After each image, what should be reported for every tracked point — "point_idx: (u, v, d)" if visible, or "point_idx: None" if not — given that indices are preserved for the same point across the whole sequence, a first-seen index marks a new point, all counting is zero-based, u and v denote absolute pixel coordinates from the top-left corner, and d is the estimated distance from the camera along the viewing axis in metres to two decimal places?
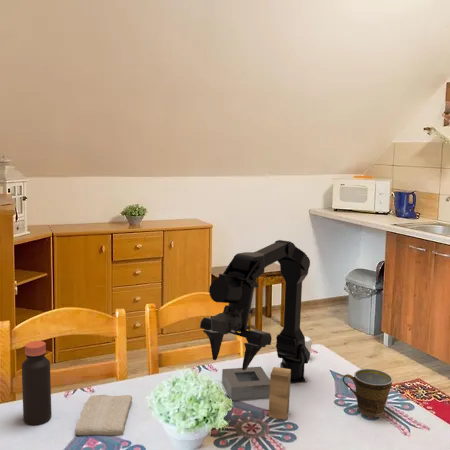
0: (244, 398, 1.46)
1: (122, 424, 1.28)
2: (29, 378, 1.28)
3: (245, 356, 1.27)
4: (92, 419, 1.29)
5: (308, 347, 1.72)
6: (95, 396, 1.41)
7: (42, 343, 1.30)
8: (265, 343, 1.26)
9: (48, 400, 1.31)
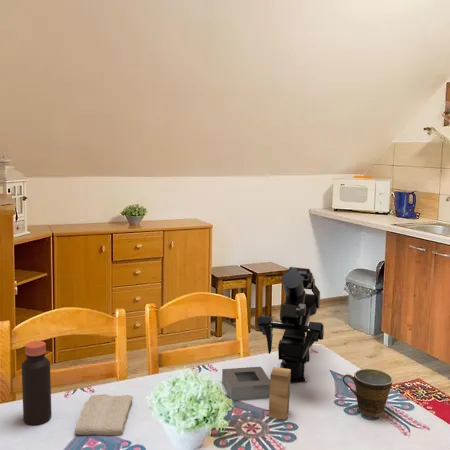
0: (244, 398, 1.46)
1: (122, 424, 1.28)
2: (29, 378, 1.28)
3: (305, 344, 1.43)
4: (92, 419, 1.29)
5: None
6: (96, 395, 1.41)
7: (42, 343, 1.30)
8: (323, 333, 1.45)
9: (48, 400, 1.31)
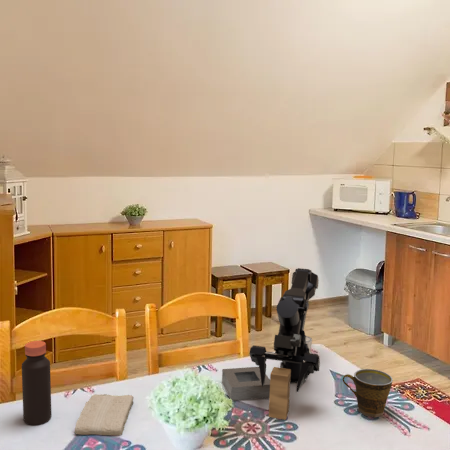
0: (244, 398, 1.46)
1: (121, 424, 1.28)
2: (29, 378, 1.28)
3: (300, 377, 1.37)
4: (92, 419, 1.29)
5: (308, 347, 1.72)
6: (97, 395, 1.42)
7: (42, 343, 1.30)
8: (318, 365, 1.39)
9: (48, 400, 1.31)
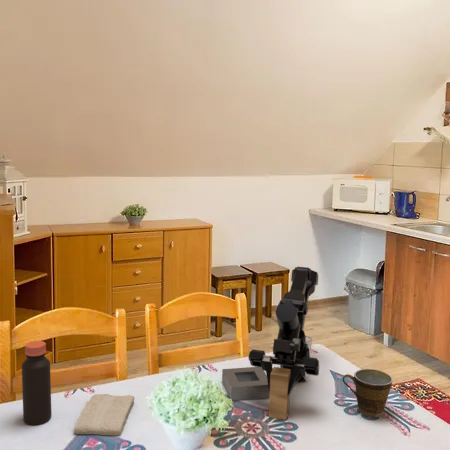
0: (244, 398, 1.46)
1: (120, 425, 1.28)
2: (29, 378, 1.28)
3: (291, 380, 1.36)
4: (91, 418, 1.29)
5: (308, 347, 1.72)
6: (98, 395, 1.42)
7: (42, 343, 1.30)
8: (318, 369, 1.38)
9: (48, 400, 1.31)
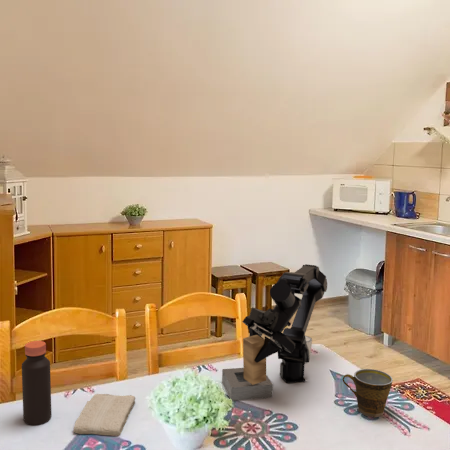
0: (244, 398, 1.46)
1: (120, 425, 1.28)
2: (29, 378, 1.28)
3: (261, 350, 1.43)
4: (91, 418, 1.30)
5: (308, 347, 1.72)
6: (99, 395, 1.42)
7: (42, 343, 1.30)
8: (286, 346, 1.39)
9: (48, 400, 1.31)
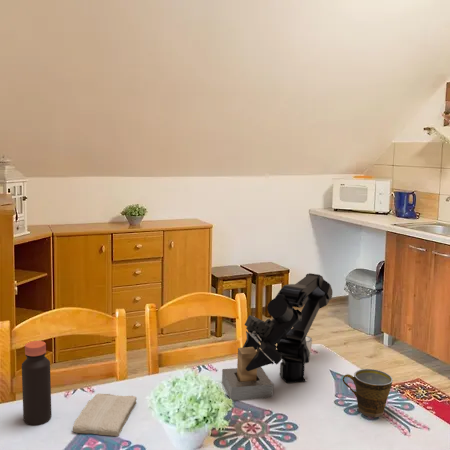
0: (244, 398, 1.46)
1: (119, 425, 1.27)
2: (29, 378, 1.28)
3: (253, 359, 1.46)
4: (91, 418, 1.30)
5: (308, 347, 1.72)
6: (101, 394, 1.42)
7: (42, 343, 1.30)
8: (271, 357, 1.42)
9: (48, 400, 1.31)
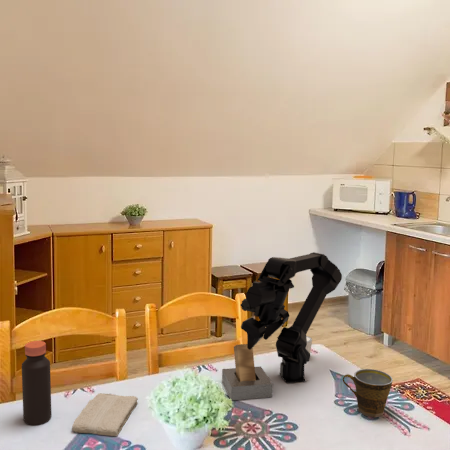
0: (244, 398, 1.46)
1: (118, 425, 1.27)
2: (29, 378, 1.28)
3: None
4: (90, 417, 1.30)
5: (308, 347, 1.72)
6: (102, 394, 1.42)
7: (42, 343, 1.30)
8: (248, 332, 1.46)
9: (48, 400, 1.31)
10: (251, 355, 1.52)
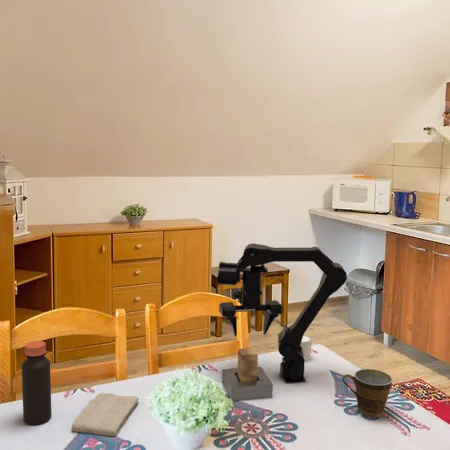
0: (244, 398, 1.46)
1: (117, 425, 1.27)
2: (29, 378, 1.28)
3: None
4: (90, 417, 1.30)
5: (308, 347, 1.72)
6: (103, 394, 1.42)
7: (42, 343, 1.30)
8: (220, 312, 1.56)
9: (48, 400, 1.31)
10: (255, 365, 1.48)
